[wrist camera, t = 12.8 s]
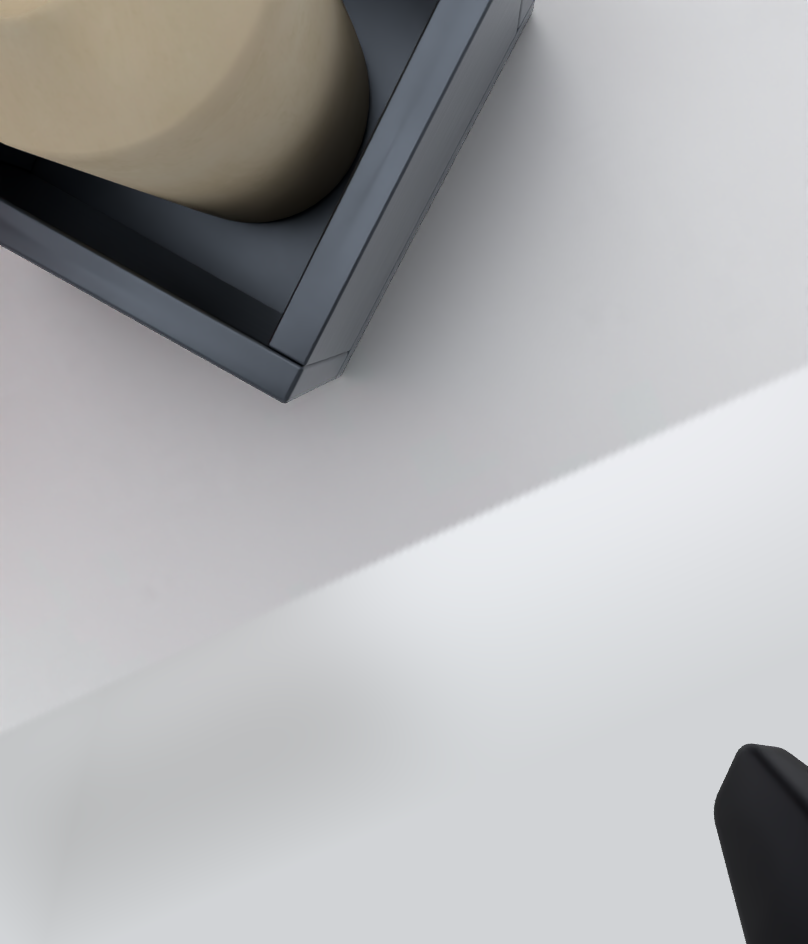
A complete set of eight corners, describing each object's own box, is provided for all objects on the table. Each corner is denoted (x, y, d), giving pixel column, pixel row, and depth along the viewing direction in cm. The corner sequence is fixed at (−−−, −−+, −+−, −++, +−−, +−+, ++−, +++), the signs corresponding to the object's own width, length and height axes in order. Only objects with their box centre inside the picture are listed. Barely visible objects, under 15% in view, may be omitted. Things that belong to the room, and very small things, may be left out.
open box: (534, 8, 18) (560, -132, 12) (340, 377, 20) (285, 405, 14) (164, -204, 17) (12, -451, 12) (9, 192, 20) (-181, 145, 14)
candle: (383, -24, 17) (256, -469, 7) (361, 235, 18) (227, 154, 8) (141, -41, 17) (-290, -487, 8) (136, 214, 19) (-241, 112, 9)
